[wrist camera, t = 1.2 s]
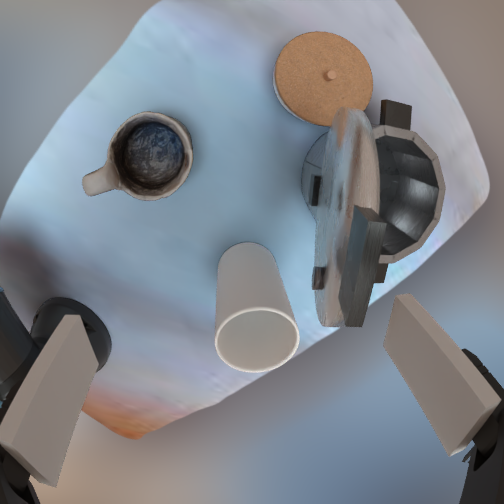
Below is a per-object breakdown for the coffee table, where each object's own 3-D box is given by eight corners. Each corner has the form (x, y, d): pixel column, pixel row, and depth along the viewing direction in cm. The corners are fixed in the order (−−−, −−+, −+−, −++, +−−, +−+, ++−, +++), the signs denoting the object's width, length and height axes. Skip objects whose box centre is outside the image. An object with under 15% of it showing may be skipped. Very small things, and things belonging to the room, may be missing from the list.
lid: (319, 267, 31) (303, 266, 31) (336, 114, 25) (319, 111, 25) (344, 399, 15) (316, 398, 15) (410, 95, 9) (372, 86, 9)
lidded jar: (290, 139, 37) (309, 143, 28) (250, 66, 32) (257, 48, 24) (360, 107, 35) (395, 105, 27) (324, 37, 31) (350, 15, 23)
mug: (212, 164, 37) (207, 176, 28) (133, 213, 39) (107, 241, 30) (174, 100, 33) (156, 91, 24) (96, 155, 35) (59, 166, 26)
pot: (285, 248, 42) (301, 286, 33) (297, 95, 34) (321, 86, 25) (387, 250, 44) (423, 283, 34) (407, 115, 36) (453, 118, 26)
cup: (280, 244, 42) (308, 310, 27) (271, 296, 45) (290, 373, 31) (220, 239, 41) (217, 305, 26) (215, 292, 44) (212, 371, 30)
